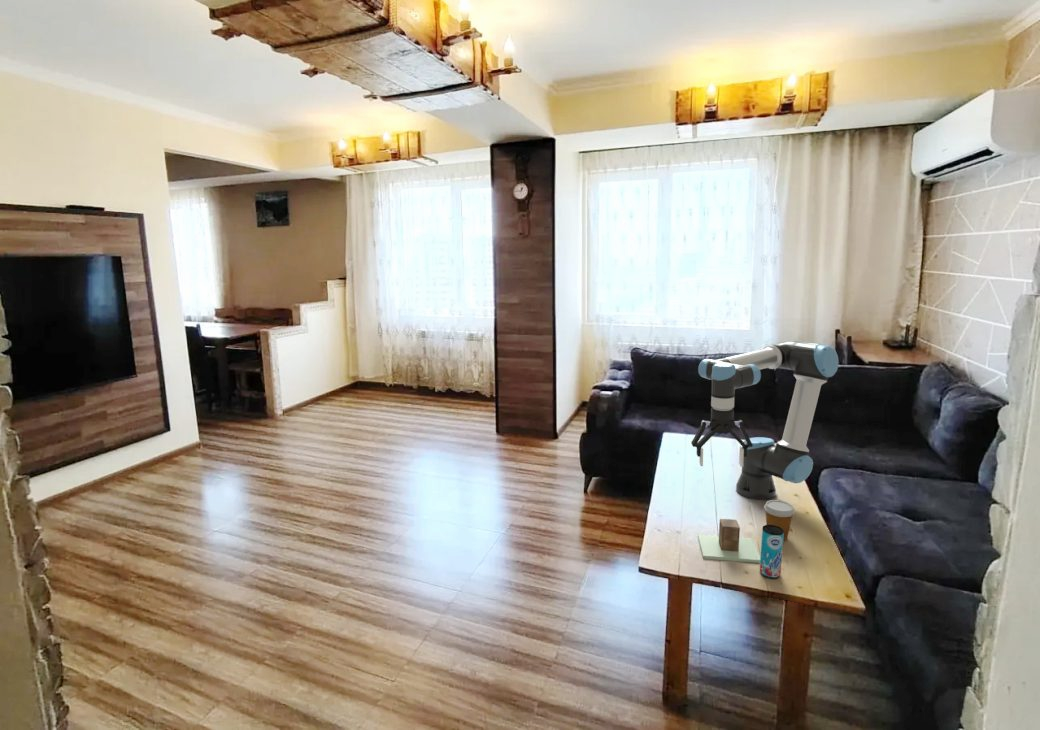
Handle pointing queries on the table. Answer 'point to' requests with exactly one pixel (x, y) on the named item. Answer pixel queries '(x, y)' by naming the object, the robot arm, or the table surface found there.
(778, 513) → the disposable coffee cup
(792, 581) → the table surface
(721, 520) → the box
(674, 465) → the table surface
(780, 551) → the teal and black cylinder
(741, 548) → the post board
